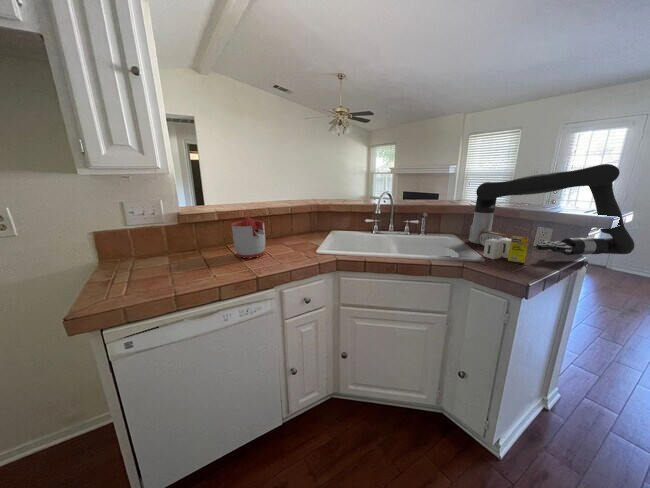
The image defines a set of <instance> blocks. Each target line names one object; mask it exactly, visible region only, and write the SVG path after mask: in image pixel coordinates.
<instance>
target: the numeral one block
mask: <svg viewBox="0 0 650 488" xmlns="http://www.w3.org/2000/svg"><path fill="white" fill-rule="evenodd" d="M503 242H504V241H500V240H496V239H488V240H486V241H485V246H483V247H484V249H483V253H482V254H483V255H482V257H485V258H488V259H491V260H495V259H496V260H497V259H500V258H502V257H501V254H502V248H503Z"/></svg>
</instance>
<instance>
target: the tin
mask: <svg viewBox="0 0 650 488" xmlns="http://www.w3.org/2000/svg"><path fill="white" fill-rule="evenodd" d="M501 238H509V239H511V236H510V235H508V234H507V233H501V232H496V231H492V230H491V231H485V232H483V233H481V234H480V235H479V243H480V244H479V245H481V246H482V247H485V241H486V240H488V239H496V240H498V239H501Z"/></svg>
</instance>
